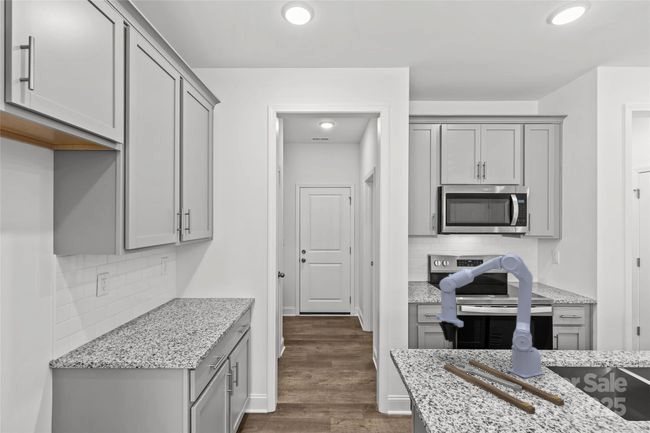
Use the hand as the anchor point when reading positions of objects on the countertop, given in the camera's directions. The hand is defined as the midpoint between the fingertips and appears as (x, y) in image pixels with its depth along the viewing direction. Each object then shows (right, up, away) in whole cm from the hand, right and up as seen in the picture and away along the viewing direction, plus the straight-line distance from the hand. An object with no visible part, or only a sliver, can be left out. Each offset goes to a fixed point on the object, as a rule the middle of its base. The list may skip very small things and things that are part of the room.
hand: (449, 340), depth 150 cm
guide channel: (+9, -8, -23) cm, 25 cm away
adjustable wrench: (+7, -8, -17) cm, 20 cm away
